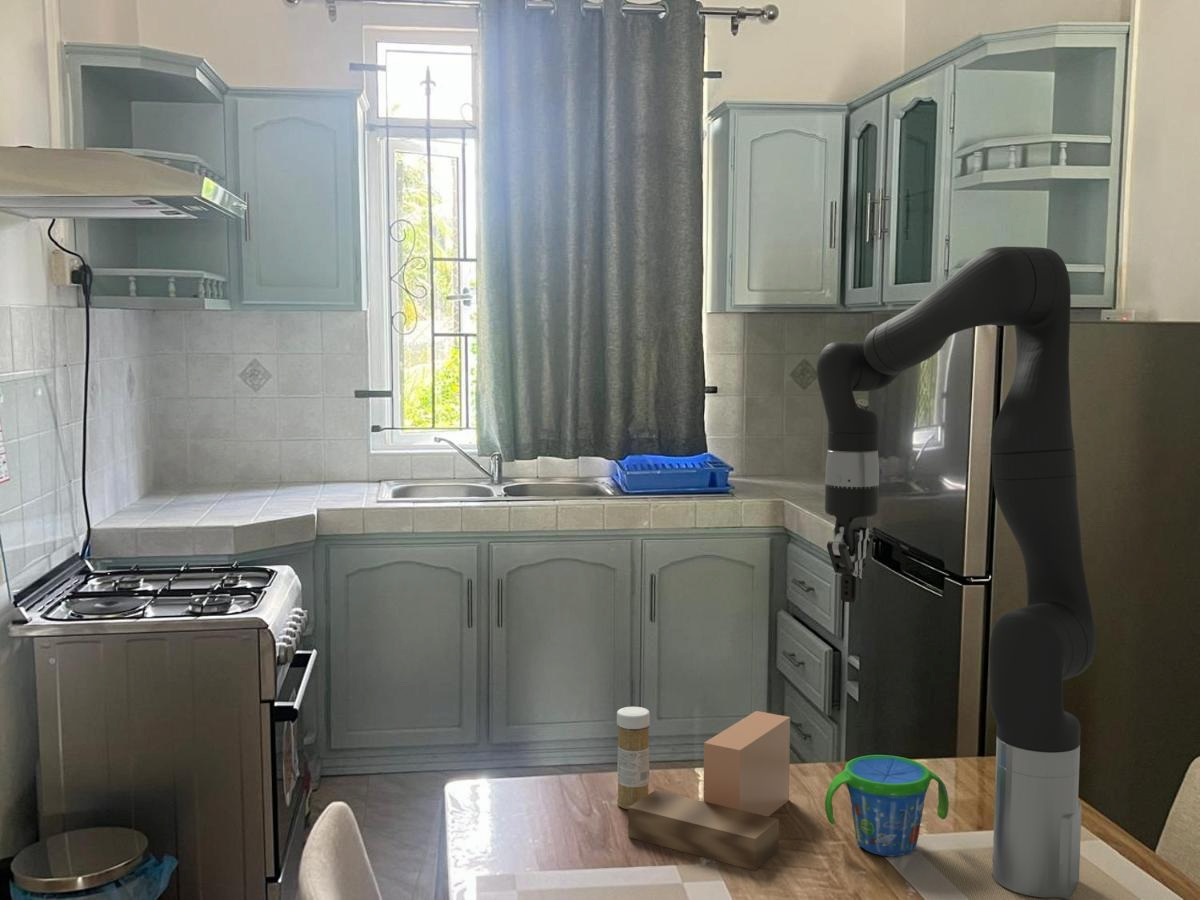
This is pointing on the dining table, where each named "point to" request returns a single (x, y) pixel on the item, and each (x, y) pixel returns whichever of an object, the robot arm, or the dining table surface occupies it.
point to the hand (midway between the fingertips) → (849, 600)
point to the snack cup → (886, 801)
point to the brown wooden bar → (704, 829)
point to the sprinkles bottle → (633, 755)
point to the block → (749, 764)
